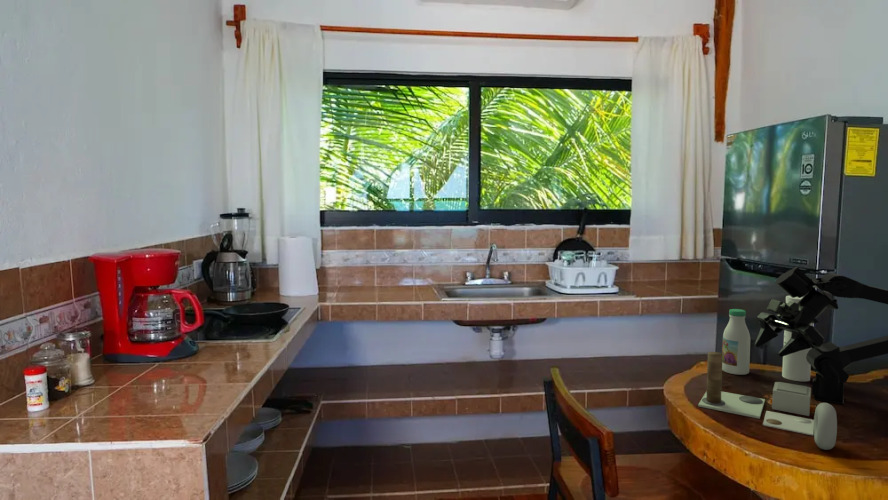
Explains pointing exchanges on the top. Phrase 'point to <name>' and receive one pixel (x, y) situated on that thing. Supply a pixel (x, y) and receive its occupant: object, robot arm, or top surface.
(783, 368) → the cylindrical container
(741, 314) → the milk bottle
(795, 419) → the card
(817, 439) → the donut
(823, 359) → the robot arm
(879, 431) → the top surface
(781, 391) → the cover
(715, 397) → the pin
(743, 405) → the board
